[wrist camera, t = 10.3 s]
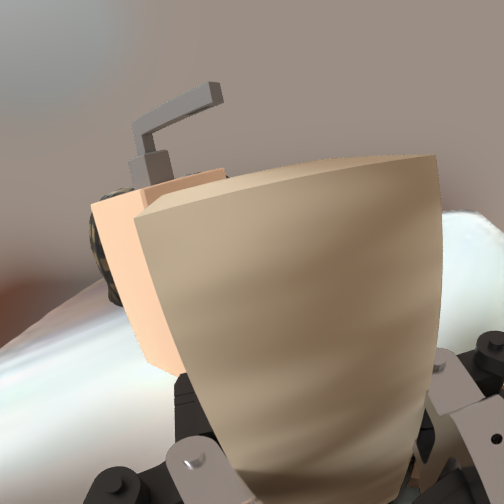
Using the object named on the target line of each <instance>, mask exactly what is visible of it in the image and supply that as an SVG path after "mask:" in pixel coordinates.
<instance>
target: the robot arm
mask: <svg viewBox="0 0 504 504" xmlns="http://www.w3.org/2000/svg"><path fill="white" fill-rule="evenodd" d="M503 383H504V332H501V331H489V332H485V333H483V334H482V335H480V337H479V338H478V340H477V344H476V348H475V349H474V350H471V351H468V352H465V353H462V354H459V355H455V354H454V353H453V352H451V351H449V350H447V349H443V348H436V353H435V359H434V366H433V371H432V377H431V382H430V387H429V389H428V390H427V391H426V395H425V400H424V406H425V410H424V414H423V418H422V422H421V426H420V430H419V434H418V437H417V439H415V440H414V444H413V447H412V450H413V453H414V456H415V459H416V462H417V465H418V468H419V489H420V496H419V497H418V498H417V499H416V500H415V501H414V502H413V503H412V504H504V389H502V386H503ZM174 396H175V398H174V405H175V444H174V445H173V446H172V447H171V448H170V449H169V451H168V453H167V455H166V461H164V462H163V463H162V464H160V465H158V466H156V467H154V468H151V469H149V470H146V471H144V472H141V473H139V474H136V473H135V472H134V471H133V470H131V469H129V468H126V467H121V466H117V467H111V468H108V469H106V470H104V471H103V472H101V473H100V474H99V475H98V476H97V477H96V478H95V480H94V482H93V484H92V486H91V488H90V490H89V492H88V494H87V496H86V498H85V500H84V502H83V504H264V503H263V502H262V501H261V500H260V499H257V498H256V496H255V495H254V494H253V493H252V491H251V490H250V489H249V487H248V486H247V485H246V484H245V482H244V481H243V480H242V478H241V477H240V475H239V474H238V473H237V471H236V470H235V469H233V468H232V466H231V464H230V462H229V460H228V458H227V457H226V455H225V453H224V451H223V449H222V447H221V445H220V443H219V441H218V439H217V437H216V435H215V433H214V431H213V429H212V427H211V425H210V423H209V421H208V419H207V417H206V414H205V412H204V410H203V408H202V406H201V404H200V402H199V399H198V397H197V395H196V393H195V390H194V388H193V386H192V384H191V381H190V379H189V377H188V374H187V372H186V373H182V374H180V375H179V377H178V379H177V381H176V383H175V385H174Z"/></svg>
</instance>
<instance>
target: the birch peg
mask: <svg viewBox="0 0 504 504" xmlns="http://www.w3.org/2000/svg"><path fill="white" fill-rule="evenodd" d="M438 176H439V175H438V167H437V159H436V155H391V156H390V155H388V156H366V157H365V156H364V157H347V158H332V159H321V160H315V161H310V162H304V163H299V164H294V165H289V166H283V167H278V168H273V169H268V170H264V171H259V172H254V173H250V174H245V175H241V176H236V177H232V178H227V179H223V180H219V181H215V182H211V183H207V184H203V185H199V186H195V187H191V188H187V189H183V190H179V191H176V192H172V193H168V194H165V195H162V196H161V197H160V198H158V199H157V200H156V201H154V202H153V203H152V204H151V205H149V206H148V207H147V208H146V209H144V210H143V211H142V212H141V213H139V214H138V215H137V216H136V217H134V218H133V219H134V223H135V226H136V230H137V233H138V237H139V240H140V244H141V247H142V250H143V254H144V257H145V260H146V263H147V266H148V270H149V273H150V276H151V279H152V282H153V285H154V288H155V291H156V294H157V297H158V299H159V302H160V305H161V308H162V311H163V313H164V316H165V319H166V322H167V324H168V327H169V330H170V332H171V335H172V337H173V340H174V343H175V345H176V348H177V350H178V353H179V355H180V358H181V360H182V362H183V365H184V367H185V370H186V372H187V374H188V377H189V379H190V381H191V384H192V386H193V388H194V390H195V393H196V395H197V397H198V399H199V402H200V404H201V406H202V408H203V410H204V412H205V414H206V417H207V419H208V421H209V423H210V425H211V427H212V429H213V431H214V433H215V435H216V437H217V439H218V441H219V443H220V445H221V447H222V449H223V451H224V453H225V455H226V457H227V458H228V460H229V462H230V464H231V466H232V468H233V469H235V470H236V471H237V473H238V474H239V475H240V477H241V478H242V480H243V481H244V482H245V484H246V485H247V486H248V487H249V489H250V490H251V491H252V493H253V494H254V495H255V496H256V498H257V499H260V500H261V501H262V502H263V503H264V504H387V503H389V502H390V501H392V500H394V499H396V498H397V496H398V493H399V491H400V488H401V485H402V483H403V480H404V477H405V475H406V472H407V469H408V466H409V463H410V460H411V457H412V454H413V450H412V447H413V444H414V440H415V439H417V437H418V434H419V430H420V426H421V422H422V418H423V414H424V410H425V406H424V400H425V395H426V391H427V390H428V389H429V387H430V382H431V377H432V371H433V366H434V359H435V353H436V345H437V338H438V329H439V319H440V308H441V294H442V269H443V235H442V211H441V197H440V185H439V177H438Z"/></svg>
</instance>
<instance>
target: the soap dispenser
mask: <svg viewBox="0 0 504 504" xmlns="http://www.w3.org/2000/svg"><path fill="white" fill-rule="evenodd" d="M222 103H224V101H223V96H222V92H221V87H220V83H218V82H206V83H204V84H202V85H199V86H197V87H195V88H193V89H191V90H189V91H187V92H185V93H183V94H181V95H179V96H177V97H175V98H173V99H171V100H169V101H168V102H166V103H164V104H162V105H160V106H158V107H157V108H155V109H153V110H151V111H149V112H148V113H146V114H144V115H142V116H141V117H139V118H137V119H135V120H134V121H132V122H131V124H132V129H133V134H134V139H135V144H136V148H137V153H138V156H137V157H135V158H133V159H130V161H129V162H128V165H129V169H130V173H131V177H132V181H133V186H134V191H131V192H128V193H124V194H121V195H118V196H115V197H112V198H109V199H106V200H103V201H100V202H97V203H94V204H91V209H92V212H93V216H94V220H95V223H96V227H97V230H98V233H99V237H100V240H101V243H102V247H103V250H104V253H105V256H106V259H107V262H108V265H109V268H110V271H111V274H112V277H113V280H114V282H115V285H116V288H117V291H118V293H119V296H120V299H121V301H122V304H123V306H124V309H125V311H126V314H127V316H128V319H129V321H130V324H131V326H132V329H133V331H134V333H135V336H136V338H137V340H138V343H139V345H140V347H141V349H142V352H143V354H144V356H145V358H146V360H147V362H148V363H149V364H151V365H153V366H155V367H158V368H160V369H162V370H164V371H166V372H168V373H170V374H173V375H175V376H177V377H179V375H180V374H182V373H186V370H185V367H184V365H183V362H182V360H181V358H180V355H179V353H178V350H177V348H176V345H175V343H174V340H173V337H172V335H171V332H170V330H169V327H168V324H167V322H166V319H165V316H164V313H163V311H162V308H161V305H160V302H159V299H158V297H157V294H156V291H155V288H154V285H153V282H152V279H151V276H150V273H149V270H148V266H147V263H146V260H145V257H144V254H143V250H142V247H141V244H140V240H139V237H138V233H137V230H136V226H135V223H134V219H133V218H134V217H136V216H137V215H138V214H139V213H141V212H142V211H143V210H144V209H146V208H147V207H148V206H149V205H151V204H152V203H153V202H154V201H156V200H157V199H158V198H160V197H161V196H162V195H165V194H168V193H172V192H176V191H179V190H183V189H187V188H191V187H195V186H199V185H203V184H207V183H211V182H215V181H219V180H223V179H226V175H225V171H224V168H218V169H214V170H210V171H205V172H201V173H197V174H193V175H189V176H185V177H181V178H177V179H174V176H173V171H172V167H171V163H170V158H169V154H168V151H167V150H160V151H156V149H155V145H154V140H153V136H152V133H154V132H156V131H158V130H160V129H162V128H165V127H167V126H169V125H171V124H173V123H176V122H178V121H180V120H182V119H185V118H187V117H190V116H192V115H194V114H197V113H199V112H202V111H204V110H207V109H209V108H211V107H214V106H217V105H219V104H222Z"/></svg>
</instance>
